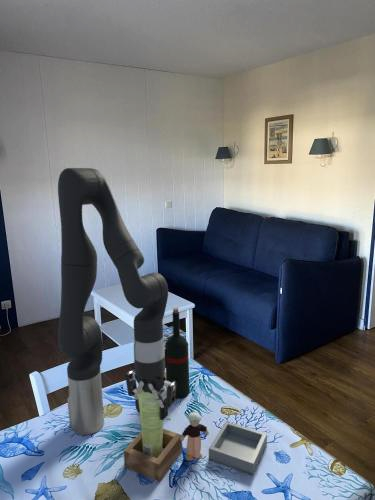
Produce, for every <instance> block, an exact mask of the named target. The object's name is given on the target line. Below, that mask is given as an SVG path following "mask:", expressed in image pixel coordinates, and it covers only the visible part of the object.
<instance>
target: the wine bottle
mask: <svg viewBox="0 0 375 500" xmlns="http://www.w3.org/2000/svg"><path fill="white" fill-rule="evenodd" d="M172 311H173V312H172V335H170V336H169V337H168V338H167V340H166V341H165V342H164V348H165V378H166V381H169V382H171V383H172V382H173V381H175V382H176V383H177V385H176V396H175V400H179V399H180V400H181V399H184V398H186V397H188V396H189V395H190V391H191V390H190V366H189V365H190V362H189V360H190V359H189V343H188V340H187V339H186V337H184V336H183V335H181V333H180V329H181V328H180V322H181V321H180V312H179V308H178V307H174V308H172Z"/></svg>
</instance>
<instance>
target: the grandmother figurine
mask: <svg viewBox="0 0 375 500" xmlns="http://www.w3.org/2000/svg"><path fill="white" fill-rule="evenodd" d="M187 419H188V422H189V425H187V426H186V428H185V429H184V430H183V431H182V434H181V435H182V436H181V438H180V440H181V441H182V442H184V440H185V438H186V437H187V439H186V454H185V461H190V462H191V461H192V460H193V459H195V458H196V459H200V458H202V457H203V454H202V452H201V449H202V435H201V432H203V433H204V434H205V435H206V436H209V434H210V433H209V430H208V427H207V426H206V425H204V424H201V423H200V421H201V420H202V417H201V415H200V414H199V413H197V412H195V411H193V412H190V413H189V415H188V417H187Z"/></svg>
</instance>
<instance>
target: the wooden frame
mask: <svg viewBox="0 0 375 500" xmlns="http://www.w3.org/2000/svg"><path fill="white" fill-rule="evenodd" d="M181 436H182V434H181V433H177V432H175V431H171V430H169V429H166V428H163V437H162V453H161V454H160V455H159V456H158V458H155V457H153V456H150V455H147V454H145V453H143V444H142V430H141V431H140V432H139V433H138V434H137V436H136V437H134V439H133V440H132V441H131V442H130V443H129V444H128V445H127V446H126V448H125V449H124V450H123V462H124V463H123V465H124V468H125V469H127V470H130V471H132V472H134V473H137V474H139V475H141V476H144V477H146V478H149V479H151V480H154V481H156V482H159V483H160V482H161V481H162V480H163V478H164V477H165V475H166V474H167V473H168V471H170V468H171V467H172V466H173V464H174V463H175V462H176V460H177V459H178V458H179V457H180V455H181V453H182V452H183V441H181V440H180V438H181Z"/></svg>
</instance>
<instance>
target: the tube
mask: <svg viewBox="0 0 375 500" xmlns="http://www.w3.org/2000/svg"><path fill="white" fill-rule="evenodd" d="M160 391H161V390H160ZM160 391H159V392H158V394H159V393H160ZM137 396H138V402H139V409H140V413H139V416H140V417H139V418H140V425H141V427H140V428H141V431H142V444H143V453H145V454H147V455H150V456H153V457H155V458H158V456H159V455H160V454H161V453H162V451H163V449H162V437H163V429H164V420H160V409H159V407H160V405H159V403H158V401H157V400H156V399H155V397H154V395H153V394H151V393H149V392H143V390H142V392H141V393H140V394H138V393H137ZM162 400H163V398H162Z"/></svg>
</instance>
